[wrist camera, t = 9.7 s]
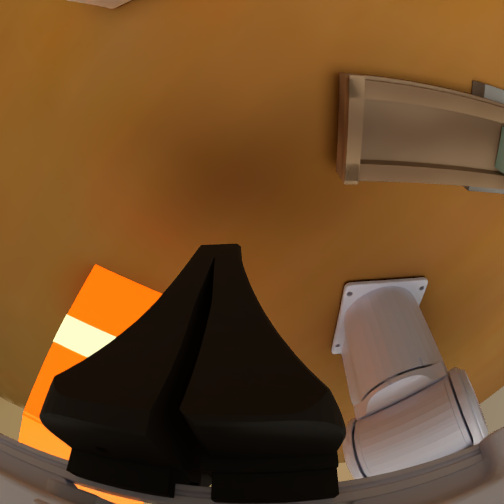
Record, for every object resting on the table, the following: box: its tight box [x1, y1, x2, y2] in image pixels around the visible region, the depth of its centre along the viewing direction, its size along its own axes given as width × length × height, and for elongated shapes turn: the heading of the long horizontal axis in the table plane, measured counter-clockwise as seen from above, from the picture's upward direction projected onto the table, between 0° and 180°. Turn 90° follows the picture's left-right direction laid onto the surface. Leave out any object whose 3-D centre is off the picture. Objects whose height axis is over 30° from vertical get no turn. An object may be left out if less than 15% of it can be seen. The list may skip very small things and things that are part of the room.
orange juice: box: [18, 264, 162, 504], centre depth 19 cm, size 8×9×20 cm
